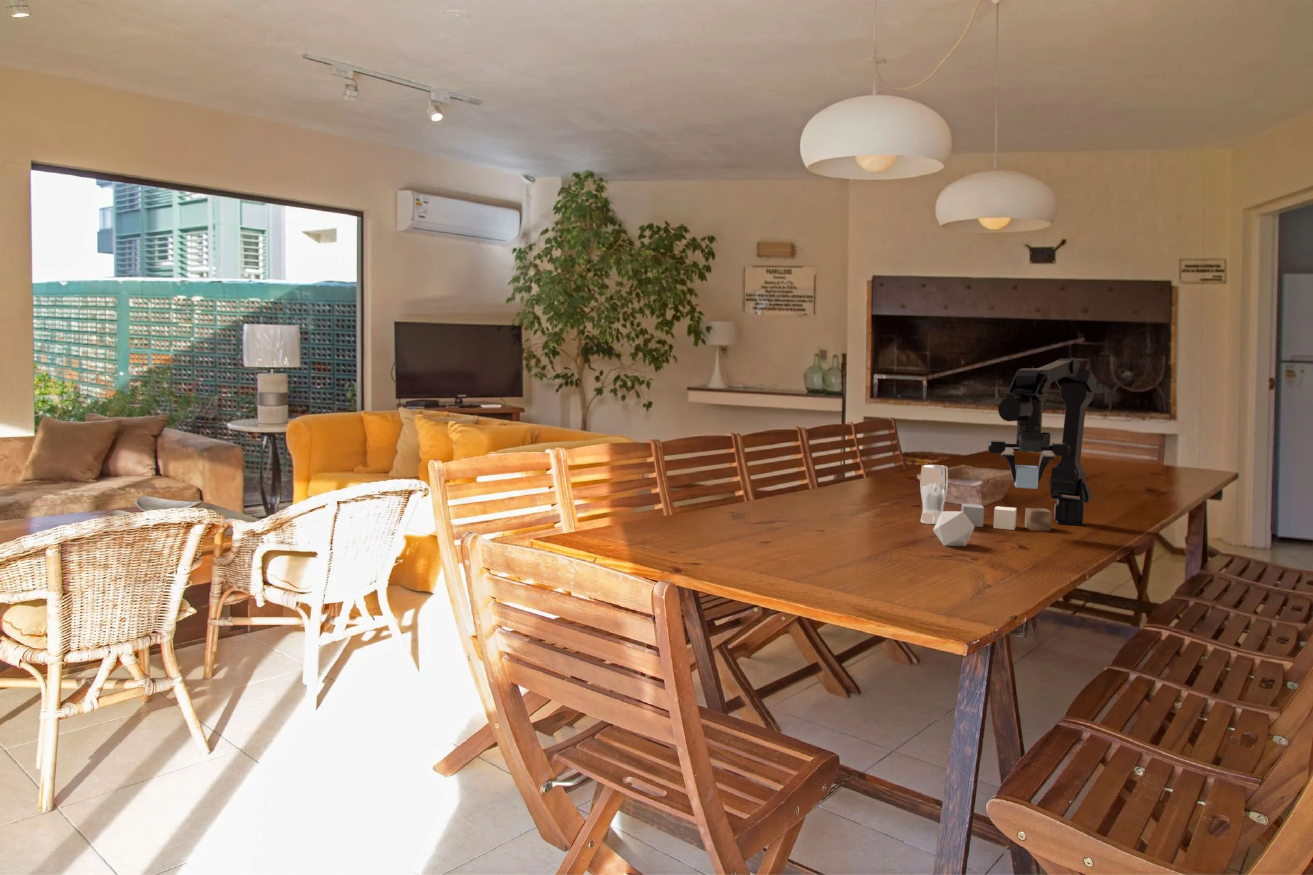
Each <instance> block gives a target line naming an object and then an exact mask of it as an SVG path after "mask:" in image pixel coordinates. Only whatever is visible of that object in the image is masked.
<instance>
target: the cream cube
mask: <svg viewBox="0 0 1313 875" xmlns="http://www.w3.org/2000/svg"><path fill="white" fill-rule="evenodd" d="M1016 525H1017V507H1009V506H998V505H997V506H995V507H994V510H993V527H992V528H993V529H1000V530H1001V529H1002V530H1011V531H1012V530H1013V531H1014V530H1015V529H1016Z"/></svg>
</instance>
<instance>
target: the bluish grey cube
mask: <svg viewBox="0 0 1313 875" xmlns="http://www.w3.org/2000/svg"><path fill="white" fill-rule="evenodd" d="M1015 469H1016V482H1014V487H1015V488H1018V489H1034V490H1035V489H1036V490H1037V489H1039V488H1038V487H1039V483H1038V474H1039V468H1038V465H1023V464H1022V465H1021V464H1015Z"/></svg>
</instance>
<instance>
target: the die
mask: <svg viewBox="0 0 1313 875" xmlns="http://www.w3.org/2000/svg"><path fill="white" fill-rule="evenodd" d="M974 530H975V526H974V525H973V524H972V523H971V521H970V520H969V519H968V517H967V516H966V515H965V513H964V512H963V511H962V510H960V511H954V510H953V511H948V510H945V511H944V510H943V511H942V512H941V514H940V516H939V518H938V520H937V523H936V525H934V527H933V529H932V531H933V533H934V534H935V535H936V536H937V538H938V540H939V541H940V542H941V543H942V545H943V547H967V545H968V542H969V540H970V538H971V536H972V534H973V531H974Z"/></svg>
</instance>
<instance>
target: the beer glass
mask: <svg viewBox="0 0 1313 875" xmlns="http://www.w3.org/2000/svg"><path fill="white" fill-rule="evenodd" d="M948 478H949V470H948V466H946V465H941V464H923V465H921V470H920V478H919V479H920V480H919V482H920V483H919V485H920V486H919V487H920V489H919V490H920V496H921V503H922V504H921V505H922V509H921V510H922V511H921V516H920V521H919V522H920V523H922V524H926V525H934V526H935V525H936V523H937V520H938V518H939V516H940V514H941V512H942V511H944V506H945V501H946V497H947V493H948V485H949V484H948V483H949V482H948V481H949V479H948Z"/></svg>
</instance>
